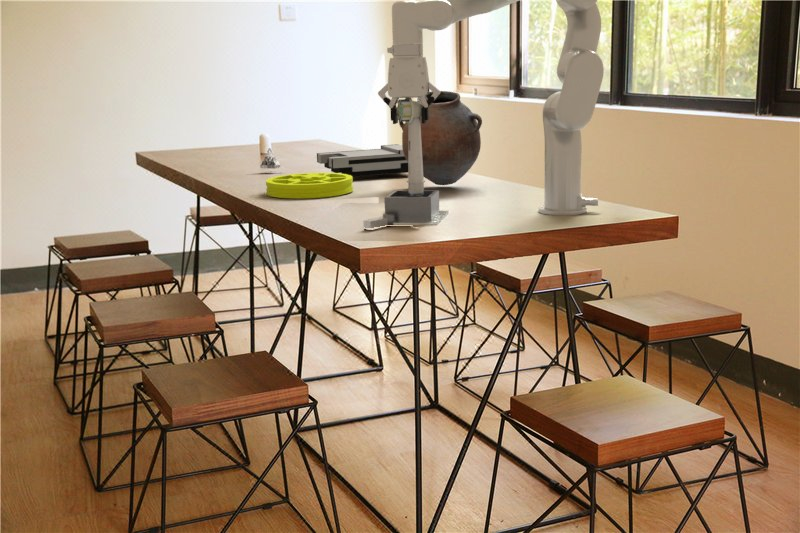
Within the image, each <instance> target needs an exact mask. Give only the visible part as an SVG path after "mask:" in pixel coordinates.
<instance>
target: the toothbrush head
mask: <svg viewBox="0 0 800 533" xmlns="http://www.w3.org/2000/svg"><path fill="white" fill-rule="evenodd" d="M412 99H413V98H400V99H398V102H397V105H396V113H398V117H397V118H398V122H399V121H400V122H403V123H405V122H406V123H409V126H408V174H407V175H408V176H407V177H408V178H407V179H408V180H406V183H408V185H407V186H408V187H407V188H408V195H410V196H422V195H424V189H425V186H424V185H425V184H424V183H425V182H426V181H425V179H424V178H425V177H423V160H422V142H421V124H420V117H421V116H422V113H421V108H423V107H422V104H421V103H420V102H418V100H417V101H416V100H415V101H414V100H412Z"/></svg>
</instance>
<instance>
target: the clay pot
mask: <svg viewBox="0 0 800 533" xmlns="http://www.w3.org/2000/svg"><path fill="white" fill-rule="evenodd" d="M432 94H433V92H432V91H429V94H428V95H427V96H426V97H427V99H429V98H430V97H431V96H432ZM416 99H417V101H418V102H420V103H421V104H422V102H421V100H420V98H419V97H418V98H416ZM422 107H423V104H422ZM428 109H429V120H427V123H425V124H423V123H422V116H421V117H420V124H421V142H422V160H423V177H424V178H425V179H426V180H428V181H430V183H433V184H435V185H437V186H449V185H453V184H455V183H457V182H458V181H459V180H460V179H462V178H463V177H464V176H465V175H466V174H467V173H468V172H469V171H470V170H471V169H472V167H473V166H474V164H475V162H476V161H477V159H478V156H479V154H480V151H481V147H482V146H481V143H482V142H481V132H480V129H481V127H482V124H483V120H482V117H481V116H480V115H479V114H478V113H474V112H472V110H471V109H470V108H469V107H468V106H467V105H465V104H464V103H463V102H462V101H461V95H460V93H458V92H455V91H453V92H452V91H446V90H444V91H443V90H440V94H439V95H438V97H437V98H436V99H435V100H434V101H433V103H432V104H431V105H430V106H429V107H428ZM398 124H399V127H400V128H401V129H402V133H401V134H402V135H401V139H402V140H401V143H402V144H401V145H402V148H403V153H404V156H405V158H406V160H407V162H408V126H409V123H406V122H405V121H404V122H400V121H399V120H398Z"/></svg>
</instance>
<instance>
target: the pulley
mask: <svg viewBox="0 0 800 533" xmlns="http://www.w3.org/2000/svg"><path fill="white" fill-rule="evenodd" d="M353 181H354V177H352V176H351V175H348V174H341V173H334V172H304V173H301V172H300V173H291V174H283V175H277V176H272V177H269V178H267V179H266V180H265V186H266V195H267V196H268V197H273V198H280V199H318V198H320V199H321V198H329V197H336V196H342V195H345V194H346V195H347V194H349V193H352V192H353V191H354V185H353Z"/></svg>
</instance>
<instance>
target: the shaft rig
mask: <svg viewBox="0 0 800 533" xmlns="http://www.w3.org/2000/svg"><path fill="white" fill-rule="evenodd" d="M448 215H449V210H440V190H438V189H437V190H436V189H435V190H434V189H431V190H429V189H427V190H426V189H425V190H424V195H422V196H410V195H408V190H407V189H396V190H395V189H394V190H393V191H391V192H390V193H389V194H387V195H386V196H384V213H382V216H377V217H373V218H370V219H369V218H368V219H365V220H363V228H364V227H365V228H374V227H380V226H385V225H414V226H438V225H439V224H440V223H441V222H442V221H443V220H444V219H445V218H446V217H447V216H448Z"/></svg>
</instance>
